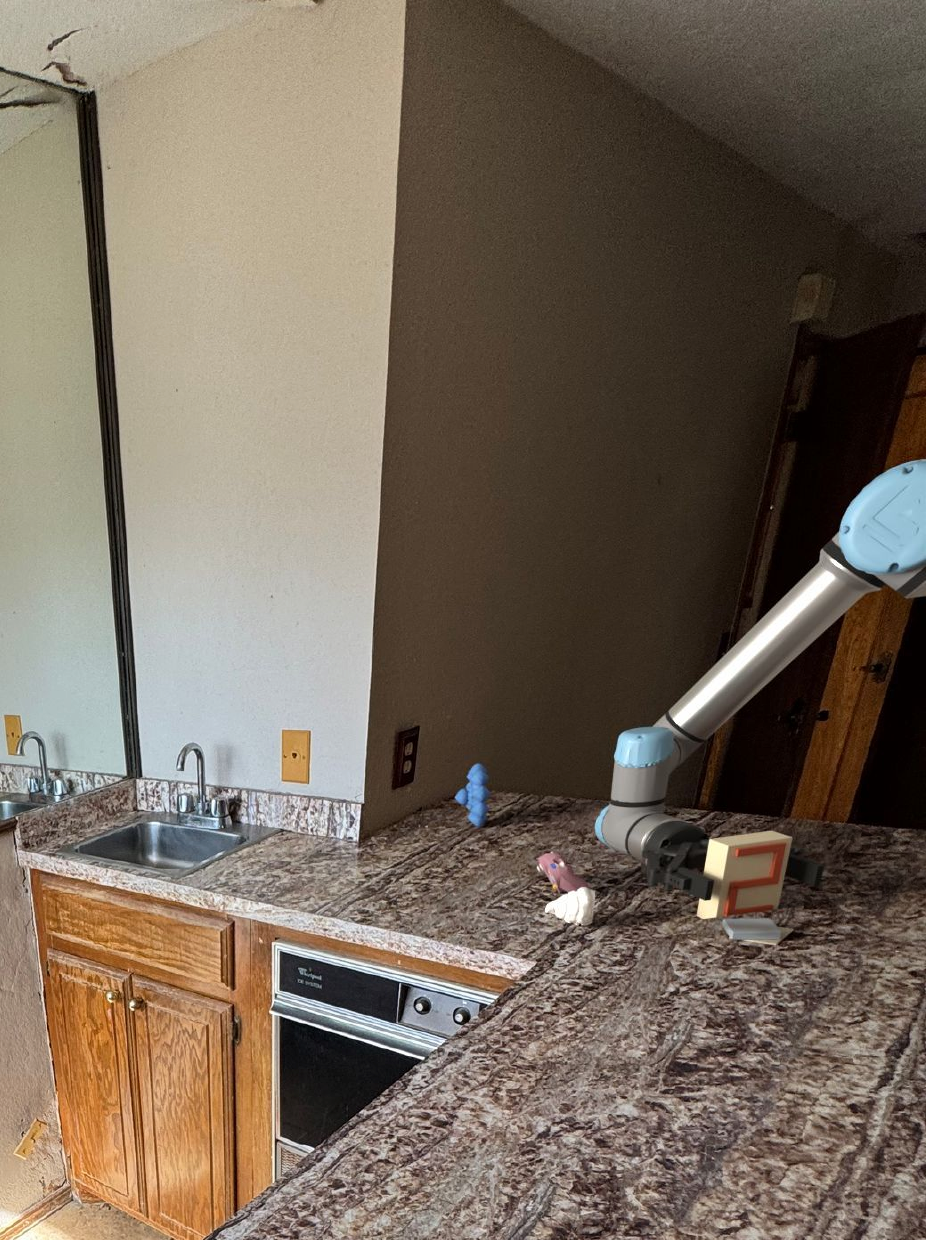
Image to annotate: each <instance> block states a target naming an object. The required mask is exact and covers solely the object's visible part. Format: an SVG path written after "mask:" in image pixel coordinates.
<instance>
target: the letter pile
mask: <svg viewBox="0 0 926 1240" xmlns="http://www.w3.org/2000/svg"><path fill="white" fill-rule="evenodd" d="M721 926H722V928H723V930H724V931H725V932H726V934H727V935H728V936H729V937H728V939H730V940H732V941H733V940H736V941H743V942H751V943H756V944H765V945H772V946H778V945H779V944H780V943H781V942H782V941H783V940H784V939H785V938H787V937H788V936H789V935H790V934H791V933H792V932H793V931H795V930H794V928H790V927H783V926H778V925H776V923H775V921H773V920H772V919H771V918H769V917H768V918H767V917H764V918H723V920H722V925H721Z"/></svg>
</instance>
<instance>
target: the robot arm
mask: <svg viewBox="0 0 926 1240" xmlns="http://www.w3.org/2000/svg"><path fill="white" fill-rule="evenodd" d="M819 554H820V555H819V561H818V563H816V564H815V566H814V567H813V568H811V569H810V570H809V571H808V572H807V573H806V574H805V575H804V576H803V577H802V578H801V579H800V580H799V581H798V582H797V583H796V584H795V585H794V586H793V587H792V588H791V589H790V590H789V591H788V592H787V593H786V594H785V595H783V596H782V598H781V599H780V600H779V601H778V602H777V603H775V605H774V606H773V607H771V609H770V610H769V611H767V613H766V614H764V616H763V617H762V618H760V620H759V621H757V623H756V624H754V626H752V628H751V629H749V631H747V632H746V634H745V635H744V636H742V637H741V638H740V640H738V642H736V644H734V645H733V646H732V647H731V648H730V649H729V650H728V651H727V652H726V654H724V655H723V656H722V657H721V658H720V659H719V660H718V661H717V662H716V663H715V664H714V665H713V666H712V667H711V668H710V669H709V670H708V671H707V672H706V673H705V674H704V675H703V676H701V678H700V679H699V680H698V681H697V682H696V683H695V684H694V685H693V686H692V687H691V688H690V689H689V690H688V691H686V693H685V694H684V695H683V696H682V697H680V699H678V701H677V702H676V703H675V704H674V705H673V706H671V708H670V709H668V711H667V712H666V713H665V714H664V715H662V716H661V717H660V718H659V719H658V720H657V721H656V722H655V724H653V725H652V726H643V727H637V728H635V727H634V728H631V729H628V730H624V731H623V732H621V733H620V734H619V735H618V738H617V742H616V743H617V744H616V749H615V752H614V755H613V758H614V765H613V773H612V783H611V792H610V802H609V804H608V805H607V806H605V808H603V809H602V810H601V812H600V814H599V815H598V817H597V818H596V819H595V824H594V832H595V835H596V837H597V839H598V840H599V841H600V842H601V843H602V844H604V845H605V846H607V847H608V848H609V849H611V850H612V851H615V852H618V853H621V854H624V855H627V856H629V857H631V858H633V859H635V860H638V861H640V866H639V867H640V869H642V870H644V871H645V876H646V882H647V883H646V884H647V887H650V888H656V887H658V886H659V884H663V885H662V886H663V887H662V891H663V892H667V893H669V892H673V891H674V889H675V888H676V889H678V890H680V891H683V892H685V893H687V894H690V895H692V896H693V897H696V898H698V899H702V900H704V901H707V900H711V896H712V891H713V885H714V880H712V879H710V878H708V877H705V876H703V875H704V874H701V873H699V872H697V871H693V870H694V869H705V863H706V857H707V851H708V845H709V839H710V838H709V837H710V836H708V834H707V832H706V831H705V830H704V829H703V828H702V827H700V826H698V825H696V824H693V823H690V822H687V821H684V820H682V819H680V818H677V817H674V816H671V815H669V814H668V815H667V814H665V813H664V811H665V803H666V800H667V799H666V797H667V796H666V795H667V790H668V783H669V778H670V775H671V774H672V773H673V772H674V771H675V770H676V768H677V769H678V767H679V766H681V764H683V763H684V762H685V761H686V760H687V759H688V758H689V757H690V755H693V753H694V752H695V751H696V750H697V749H698V748H700V746H701V745H703V744H704V743H705V741H707V740H708V739H709V738H710V737H711V736H712V735H713V734H714V733H715V732H717V730H718V729H720V728H721V727H722V726H723V725H724V724H725V723H726V722H727V721H729V719H730V718H732V717H733V716H734V715H735V714H736V713H737V712H738V711H739V710H740V709H742V708H743V707H744V706H745V705H746V704H747V703H748V702H749V701H750V700H751V699H752V698H754V696H755V695H757V694H758V693H759V692H761V690H762V689H763V688H764V687H765V686H766V685H768V684H769V683H770V682H771V681H772V680H773V679H774V678H775V677H776V676H777V675H778V674H779V673H781V672H782V671H783V670H784V669H785V668H786V667H787V666H788V665H789V664H790V663H791V662H792V661H794V660H795V659H796V658H797V657H798V656H799V655H800V654H801V653H803V652H804V651H805V650H806V649H807V648H808V647H809V646H810V645H811V644H812V643H813V642H814V641H815V640H817V639H818V638H819V637H820V636H821V635H822V634H823V633H824V632H825V631H826V630H828V628H830V627H831V626H832V625H833V624H834V623H835V622H836V621H837V620H838V619H839V618H840V617H841V616H843V615H844V614H845V613H846V612H847V611H848V610H849V609H850V608H851V607H853V606H854V605H855V604H856V603H857V602H858V601H859V600H860V599H861V598H862V597H863V596H864V595H866V594H868V593H873V592H879V591H881V590H882V589H883V588H884V587H885V586H886V585H887V586H889V587H890V588H892V589H893V590H894V591H896V592H897V593H898V594H900V595H901V596H902V597H904V598H905V599H914V598H920V597H926V458H924V459H923V458H922V459H916V460H911V461H908V462H905V463H900V464H899V465H897V466H894V467H892V468H889V469H887V470H886V471H884V472H883V473H881V474H879V475H878V476H876V477H875V478H874V479H872V481H870V483H868V484H867V485H866V486H864V487H863V488H862V489H861V491H859V493H858V494H857V495H856V497H855V498H854V499H853V500H852V501H850V504H849V506H848V507H847V508H846V511H845V513H844V515H843V517H842V519H841V522H840V525H839V531H838V532H837V533H836V534H835V535H834V536H833V537H832V538H831V540H829V541H828V542H827V543H826V544H825V545H824V546H823V547H822V548H821V549H820V552H819ZM805 853H806V849H805V848H803V847H797V846H795V845H791V847H790V852H789V857H788V862H787V867H786V872H785V876H784V877H788V878H791V879H794V880H796V881H798V882H801V883H804V884H806V885H808V886H811V887H820V886H821V883H822V878H823V874H824V868H825V865H824V864H821V863H818V862H815V861H813V860H810V859H807V858H804V857H805Z"/></svg>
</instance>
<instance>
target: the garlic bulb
mask: <svg viewBox="0 0 926 1240" xmlns="http://www.w3.org/2000/svg"><path fill="white" fill-rule="evenodd" d="M595 902H596V890H593V889H591V888H590V889H588V888H587V887H581V888H579V889H578V891H571V892H569V893H568V892H567V893H564V894H563V895H561V896H560V897H558V898H557V899H556V900H552V901H549V902H548V903H547V904H546V906H545V909H544V910H545V913H546V914H548V913H549V914H552V915H555V917H556V918H558V919H560V920H561V919H562V920H564V922H566V923H568V924H574V925H576V926H578V927H579V926H580V925H581V926H584V927H586V926H589V925H591V924H592V923H593V920H594V913H595Z"/></svg>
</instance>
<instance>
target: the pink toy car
mask: <svg viewBox="0 0 926 1240" xmlns="http://www.w3.org/2000/svg"><path fill="white" fill-rule="evenodd" d="M537 860H538V864H539V865H537V866H536V869H537V871H538V872H539V873H542V872H543V873H544V874H545V875H546V877H547V878H548V880H549V882H550V883H551V885H552V888H553V890H556V891H557V892H558V893H559V894H561V893H562V892H564V891H565V892H566V893H567V894H568V893H569V892H571V891H578V889H579V888H581V887H587V888H588V889H591V887H590V885H589V883H588V882H587V881H586V880H584V879H582V878H581V877H580V876H578V875H576V874H575V871H574V869H573V867H571V866H570V865H569V864H567V861H566V858H565V856H563V855H562V854H560V853H557V852H553V851H551V852H550V853H548V852H547V853H544V854H542V855H541V856H539V857H538V858H537Z"/></svg>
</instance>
